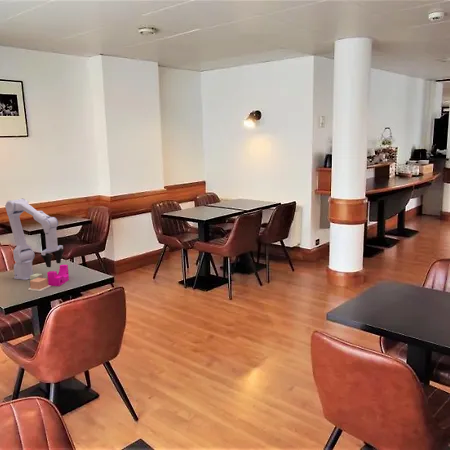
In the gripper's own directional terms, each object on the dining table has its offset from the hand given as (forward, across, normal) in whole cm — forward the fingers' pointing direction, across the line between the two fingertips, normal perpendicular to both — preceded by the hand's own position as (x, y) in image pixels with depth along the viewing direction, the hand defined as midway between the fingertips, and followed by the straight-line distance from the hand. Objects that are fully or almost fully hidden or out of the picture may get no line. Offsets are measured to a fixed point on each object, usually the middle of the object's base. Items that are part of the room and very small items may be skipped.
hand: (53, 265), depth 245 cm
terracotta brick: (+9, -11, +1) cm, 14 cm away
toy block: (+10, +2, -2) cm, 10 cm away
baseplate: (+10, -11, +1) cm, 14 cm away
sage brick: (+10, -4, +9) cm, 14 cm away
